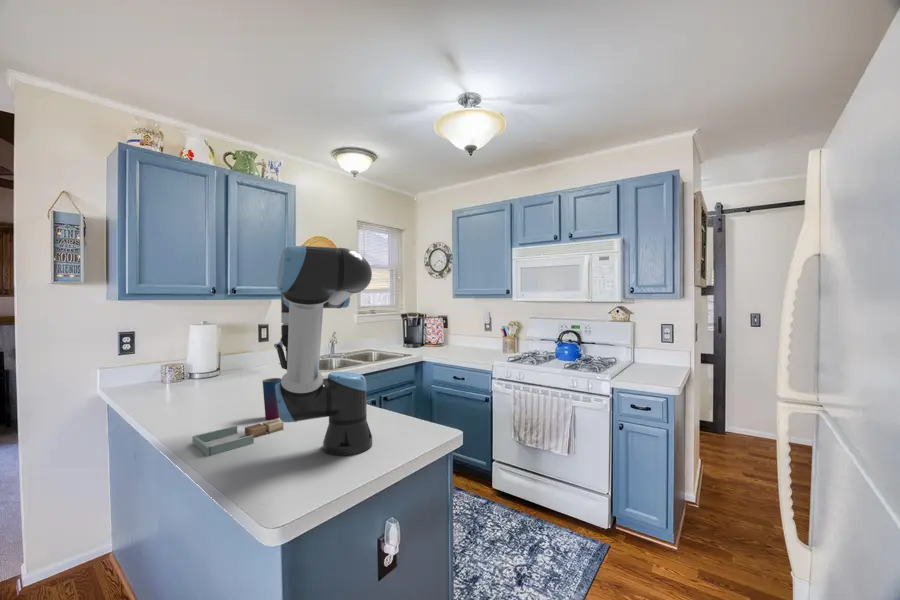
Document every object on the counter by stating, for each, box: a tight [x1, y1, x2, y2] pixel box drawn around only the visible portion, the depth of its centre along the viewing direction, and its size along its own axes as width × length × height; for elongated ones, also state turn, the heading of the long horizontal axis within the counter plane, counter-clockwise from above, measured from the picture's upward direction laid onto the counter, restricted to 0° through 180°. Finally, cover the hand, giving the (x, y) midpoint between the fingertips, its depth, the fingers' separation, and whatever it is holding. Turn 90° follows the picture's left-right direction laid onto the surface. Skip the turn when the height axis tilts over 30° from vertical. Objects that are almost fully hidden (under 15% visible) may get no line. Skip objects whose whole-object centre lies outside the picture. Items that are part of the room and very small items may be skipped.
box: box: [191, 425, 255, 457], centre depth 124 cm, size 15×13×2 cm
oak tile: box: [262, 418, 284, 435], centre depth 136 cm, size 5×5×3 cm
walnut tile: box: [244, 423, 268, 439], centre depth 132 cm, size 5×5×3 cm
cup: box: [262, 377, 282, 421], centre depth 150 cm, size 7×7×15 cm
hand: (292, 386), depth 142 cm, fingers closed
